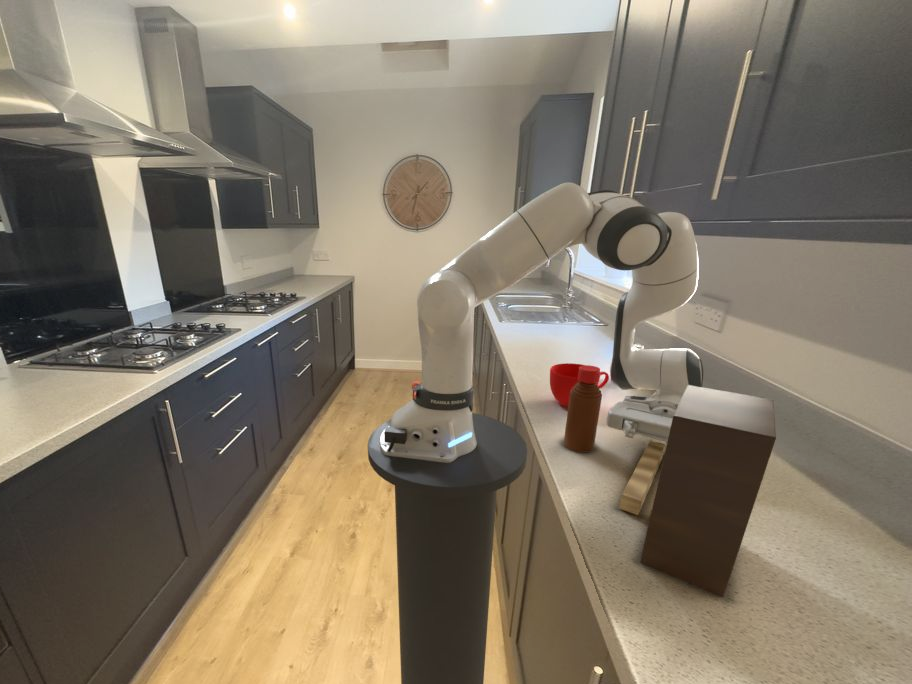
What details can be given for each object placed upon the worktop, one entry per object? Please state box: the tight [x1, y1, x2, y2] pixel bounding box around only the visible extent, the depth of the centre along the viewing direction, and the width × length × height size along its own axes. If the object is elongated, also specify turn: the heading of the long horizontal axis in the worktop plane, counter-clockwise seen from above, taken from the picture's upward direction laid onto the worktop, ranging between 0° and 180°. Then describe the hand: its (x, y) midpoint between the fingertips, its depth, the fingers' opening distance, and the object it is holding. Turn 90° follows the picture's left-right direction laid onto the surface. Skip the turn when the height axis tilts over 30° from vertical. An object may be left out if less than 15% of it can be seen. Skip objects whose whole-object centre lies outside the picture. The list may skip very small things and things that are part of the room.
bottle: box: [563, 381, 603, 453], centre depth 91 cm, size 6×6×18 cm
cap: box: [578, 364, 601, 384], centre depth 88 cm, size 4×4×3 cm
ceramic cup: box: [549, 362, 610, 408], centre depth 115 cm, size 13×17×10 cm
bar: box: [619, 440, 667, 516], centre depth 80 cm, size 25×3×3 cm, turn 141°
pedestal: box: [639, 385, 777, 597], centre depth 59 cm, size 14×10×24 cm
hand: (653, 440), depth 81 cm, fingers open, 7 cm apart
